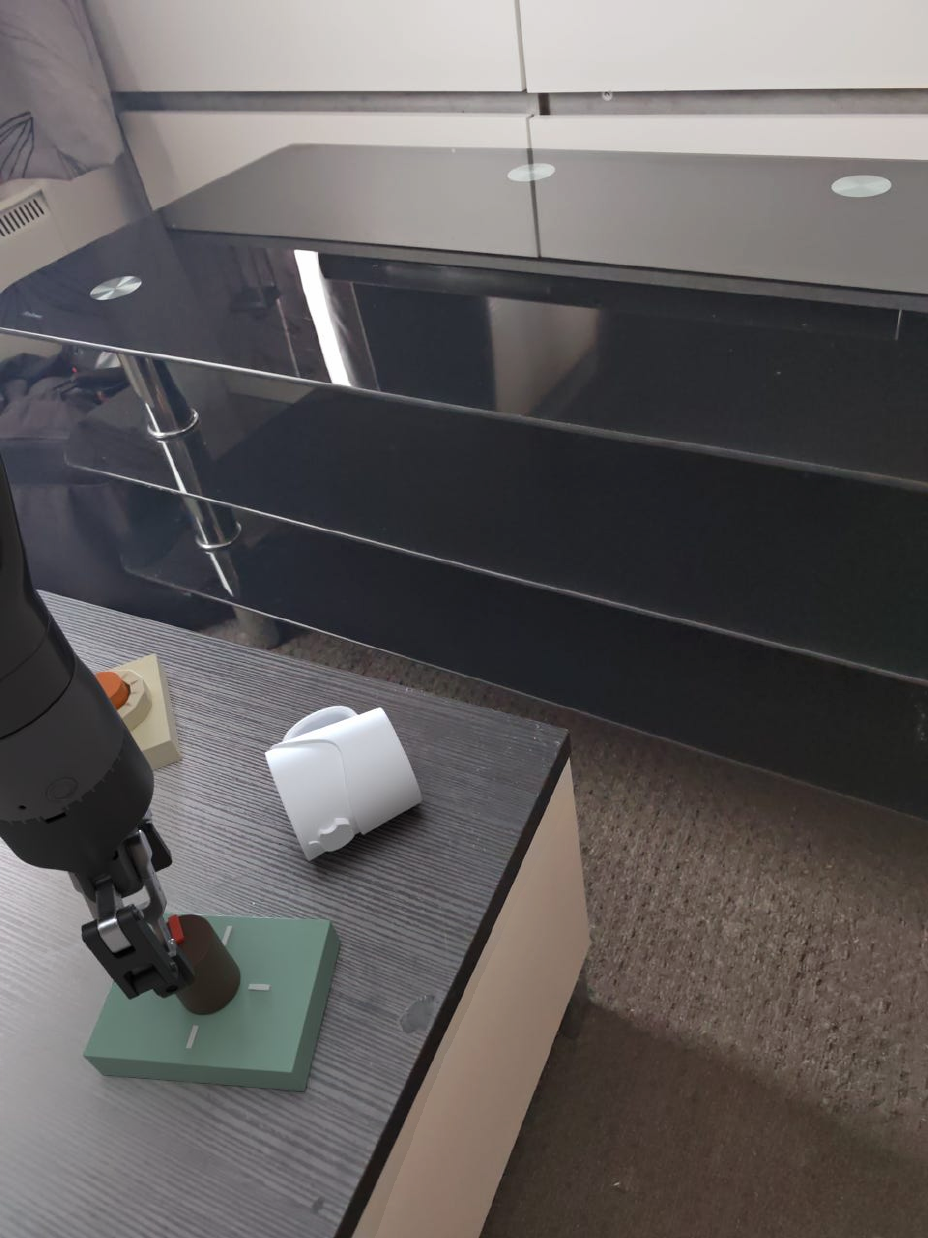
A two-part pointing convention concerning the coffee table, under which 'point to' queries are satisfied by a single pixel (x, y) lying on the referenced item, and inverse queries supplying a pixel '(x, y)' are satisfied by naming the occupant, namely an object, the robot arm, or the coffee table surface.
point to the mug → (341, 776)
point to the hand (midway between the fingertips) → (167, 923)
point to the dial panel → (230, 1013)
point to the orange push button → (113, 688)
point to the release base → (149, 710)
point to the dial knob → (204, 964)
